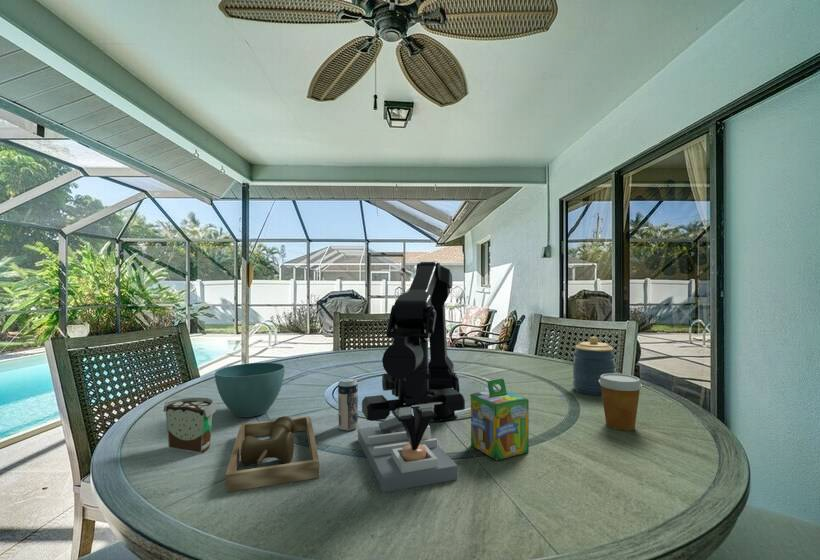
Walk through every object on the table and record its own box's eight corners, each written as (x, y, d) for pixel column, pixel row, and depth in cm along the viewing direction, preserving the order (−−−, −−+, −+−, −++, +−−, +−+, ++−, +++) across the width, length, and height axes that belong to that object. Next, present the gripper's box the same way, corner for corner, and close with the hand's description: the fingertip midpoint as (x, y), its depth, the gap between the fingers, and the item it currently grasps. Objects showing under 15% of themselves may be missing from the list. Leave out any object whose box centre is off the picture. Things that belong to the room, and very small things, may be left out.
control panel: (415, 432, 96) (415, 415, 96) (457, 479, 73) (457, 457, 73) (358, 439, 91) (358, 422, 91) (383, 492, 68) (383, 469, 68)
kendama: (305, 437, 94) (284, 476, 74) (264, 440, 94) (232, 480, 74) (304, 412, 95) (283, 444, 75) (263, 414, 94) (231, 447, 74)
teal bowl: (199, 419, 106) (199, 373, 106) (250, 399, 123) (250, 360, 123) (252, 427, 99) (251, 379, 99) (298, 406, 116) (298, 364, 116)
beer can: (354, 432, 96) (353, 382, 96) (335, 431, 97) (335, 381, 97) (360, 425, 100) (360, 377, 100) (342, 424, 101) (342, 377, 101)
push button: (421, 453, 77) (421, 442, 77) (429, 462, 73) (429, 452, 73) (399, 456, 76) (399, 445, 76) (406, 466, 72) (406, 455, 72)
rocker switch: (399, 420, 92) (398, 416, 92) (404, 426, 88) (403, 421, 88) (379, 427, 91) (378, 423, 91) (383, 433, 87) (382, 429, 87)
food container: (228, 443, 90) (228, 399, 90) (206, 454, 84) (206, 407, 84) (187, 436, 94) (187, 394, 94) (163, 447, 88) (163, 402, 88)
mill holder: (310, 428, 99) (310, 416, 99) (319, 477, 74) (319, 461, 74) (240, 436, 94) (240, 423, 94) (225, 492, 69) (225, 475, 69)
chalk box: (496, 462, 79) (495, 388, 79) (469, 445, 87) (468, 378, 87) (531, 452, 84) (530, 382, 84) (501, 437, 92) (501, 373, 92)
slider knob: (423, 436, 86) (423, 420, 86) (430, 443, 82) (430, 426, 82) (410, 438, 85) (410, 422, 85) (416, 445, 81) (416, 428, 81)
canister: (565, 386, 135) (564, 334, 135) (601, 384, 136) (600, 333, 136) (586, 397, 122) (585, 340, 122) (625, 395, 123) (625, 339, 123)
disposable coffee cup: (646, 425, 98) (646, 376, 98) (636, 436, 91) (636, 384, 91) (605, 416, 105) (605, 371, 105) (593, 426, 98) (592, 377, 98)
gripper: (442, 354, 85) (443, 427, 85) (356, 361, 79) (357, 439, 79) (465, 365, 74) (466, 448, 74) (367, 373, 69) (368, 463, 69)
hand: (414, 449), depth 74 cm, fingers closed, pressing on push button
